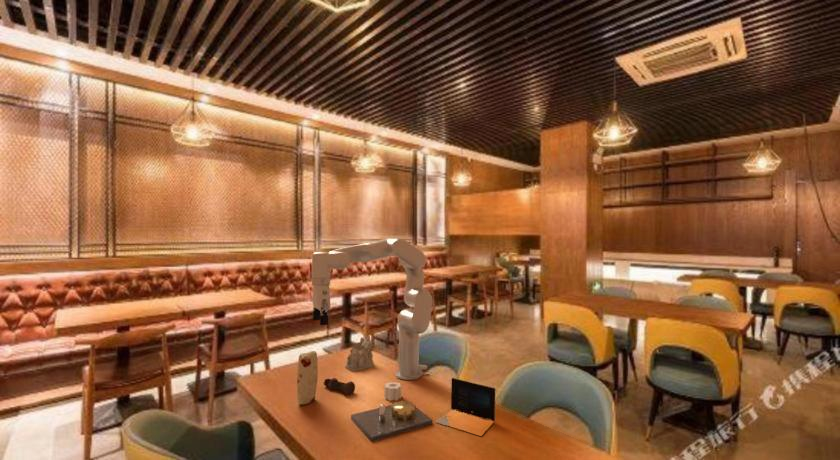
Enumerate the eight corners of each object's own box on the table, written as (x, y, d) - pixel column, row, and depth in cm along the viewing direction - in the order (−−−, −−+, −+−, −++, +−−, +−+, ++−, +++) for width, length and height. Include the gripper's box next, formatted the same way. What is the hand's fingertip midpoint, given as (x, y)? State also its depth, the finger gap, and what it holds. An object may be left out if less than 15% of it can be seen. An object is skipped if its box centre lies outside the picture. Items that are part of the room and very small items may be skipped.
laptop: (435, 424, 143) (436, 388, 143) (451, 410, 154) (451, 377, 154) (481, 438, 134) (482, 400, 134) (495, 423, 144) (495, 388, 144)
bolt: (327, 390, 175) (352, 397, 167) (319, 387, 171) (344, 395, 163) (332, 376, 177) (356, 383, 169) (324, 374, 174) (349, 380, 165)
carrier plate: (407, 404, 157) (408, 387, 157) (432, 424, 142) (432, 404, 142) (351, 418, 145) (351, 399, 145) (371, 441, 130) (372, 420, 130)
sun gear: (401, 406, 152) (401, 398, 152) (420, 413, 147) (420, 405, 147) (386, 415, 145) (386, 407, 145) (405, 422, 140) (405, 414, 140)
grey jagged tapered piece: (362, 356, 214) (362, 329, 213) (379, 366, 202) (378, 338, 200) (336, 364, 205) (336, 336, 204) (351, 375, 192) (351, 345, 191)
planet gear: (396, 392, 169) (396, 380, 169) (404, 398, 163) (404, 386, 163) (381, 395, 165) (381, 383, 165) (389, 402, 159) (389, 390, 159)
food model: (305, 408, 152) (306, 356, 152) (291, 405, 155) (292, 354, 155) (321, 398, 162) (322, 349, 161) (308, 395, 164) (308, 347, 164)
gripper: (336, 283, 160) (335, 325, 160) (323, 278, 174) (322, 317, 174) (318, 284, 156) (317, 328, 156) (306, 279, 170) (305, 319, 170)
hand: (320, 322), depth 165 cm, fingers open, 9 cm apart
